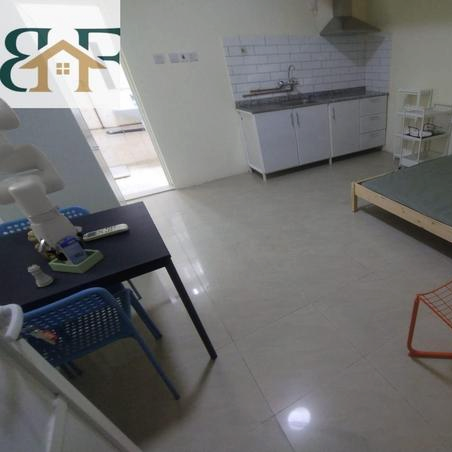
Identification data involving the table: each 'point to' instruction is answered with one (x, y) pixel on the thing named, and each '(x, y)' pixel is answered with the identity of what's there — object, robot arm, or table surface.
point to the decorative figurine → (34, 239)
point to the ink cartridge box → (72, 250)
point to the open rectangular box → (92, 259)
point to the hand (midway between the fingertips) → (72, 254)
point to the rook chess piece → (40, 276)
